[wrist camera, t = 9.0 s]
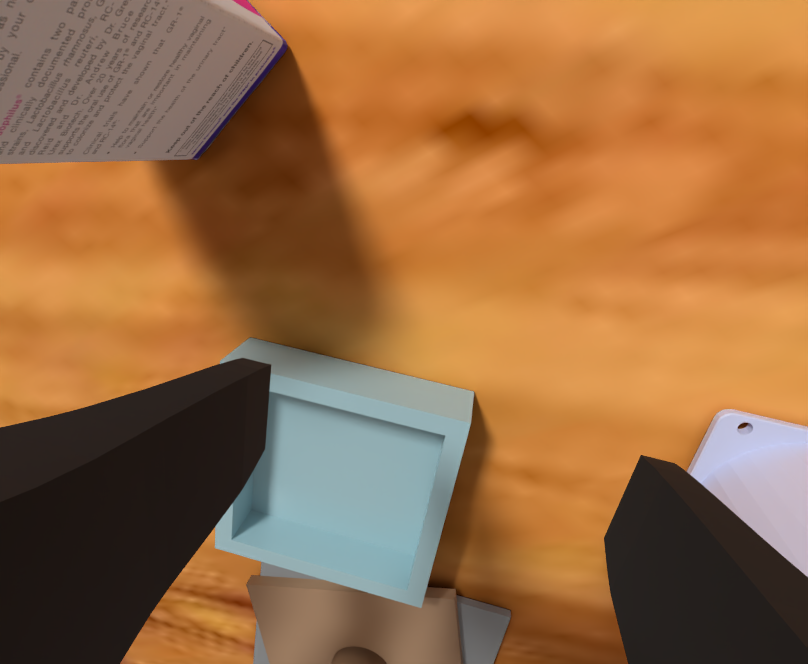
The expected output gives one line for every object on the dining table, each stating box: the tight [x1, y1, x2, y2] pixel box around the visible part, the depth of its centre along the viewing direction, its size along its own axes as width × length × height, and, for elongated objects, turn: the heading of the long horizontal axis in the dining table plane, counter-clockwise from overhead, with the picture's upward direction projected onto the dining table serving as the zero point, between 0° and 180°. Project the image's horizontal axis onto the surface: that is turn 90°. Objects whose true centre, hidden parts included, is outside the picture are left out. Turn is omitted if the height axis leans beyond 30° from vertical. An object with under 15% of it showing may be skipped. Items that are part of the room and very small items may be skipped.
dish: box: [215, 337, 474, 608], centre depth 22 cm, size 10×10×2 cm
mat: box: [253, 562, 511, 664], centre depth 28 cm, size 13×13×1 cm
